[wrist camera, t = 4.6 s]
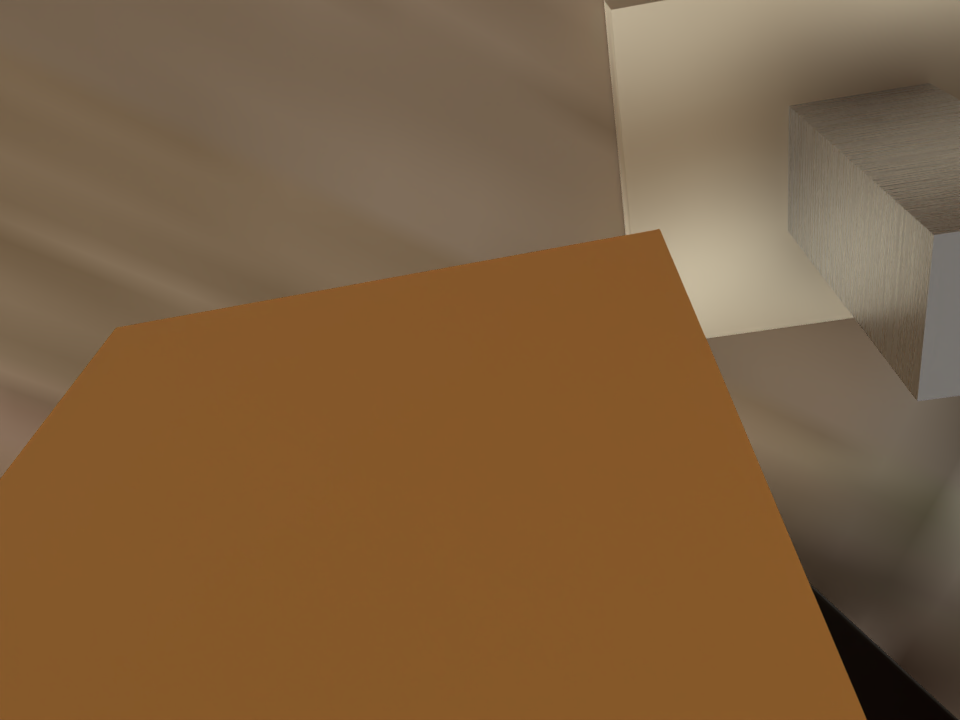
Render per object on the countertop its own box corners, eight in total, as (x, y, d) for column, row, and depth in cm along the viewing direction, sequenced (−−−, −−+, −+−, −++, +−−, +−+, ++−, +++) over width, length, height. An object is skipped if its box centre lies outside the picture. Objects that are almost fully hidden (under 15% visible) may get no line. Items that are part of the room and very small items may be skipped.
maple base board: (1033, 264, 20) (1063, 288, 19) (634, 321, 21) (641, 347, 20) (1091, -88, 16) (1132, -83, 15) (604, -1, 17) (610, 9, 16)
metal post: (917, 211, 18) (1108, 376, 12) (787, 230, 18) (917, 401, 13) (929, 82, 16) (1148, 203, 11) (788, 105, 17) (934, 235, 11)
